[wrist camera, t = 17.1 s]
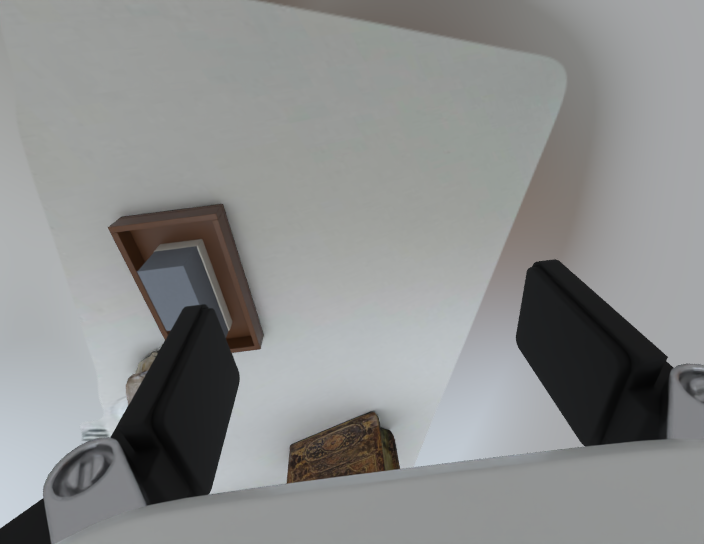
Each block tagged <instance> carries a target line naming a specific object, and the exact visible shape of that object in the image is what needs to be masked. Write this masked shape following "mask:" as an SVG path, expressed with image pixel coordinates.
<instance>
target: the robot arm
mask: <svg viewBox="0 0 704 544" xmlns="http://www.w3.org/2000/svg"><path fill="white" fill-rule="evenodd" d="M516 342H517V345H518V348H519V349H520V351H521V352H522V354H523V355H524V357H525V358H526V360H527V361H528V363H529V364H530V366H531V367H532V369H533V371H534V372H535V374H536V375H537V376H538V378H539V380H540V381H541V382H542V384H543V386H544V387H545V389H546V390H547V392H548V393H549V395H550V396H551V398H552V399H553V401H554V402H555V404H556V405H557V407H558V408H559V410H560V411H561V413H562V415H563V416H564V418H565V419H566V420H567V422H568V424H569V425H570V427H571V428H572V430H573V431H574V433H575V434H576V436H577V437H578V439H579V440H580V442H581V443H582V444H583V445H584V446H586V447H577V448H569V449H560V450H552V451H544V452H535V453H527V454H519V455H510V456H502V457H493V458H485V459H477V460H469V461H461V462H453V463H445V464H437V465H429V466H421V467H413V468H405V469H397V470H389V471H381V472H373V473H365V474H357V475H349V476H342V477H334V478H327V479H319V480H311V481H304V482H296V483H289V484H281V485H273V486H266V487H258V488H250V489H244V490H237V491H230V492H223V493H217V494H210V495H208V494H209V493H210V491H211V489H212V485H213V481H214V478H215V474H216V470H217V466H218V462H219V459H220V455H221V451H222V447H223V443H224V439H225V436H226V432H227V428H228V424H229V420H230V417H231V413H232V409H233V405H234V401H235V397H236V394H237V390H238V386H239V380H240V377H239V371H238V368H237V366H236V363H235V361H234V358H233V356H232V353H231V350H230V348H229V345H228V343H227V340H226V338H225V335H224V332H223V330H222V327H221V325H220V322H219V320H218V317H217V315H216V312H215V310H214V309H213V308H208V306H207V305H205V304H201V305H193V306H186V307H184V308H183V309H182V311H181V313H180V315H179V317H178V318H177V320H176V322H175V324H174V326H173V327H172V329H171V331H170V333H169V334H168V336H167V338H166V340H165V342H164V343H163V345H162V347H161V349H160V351H159V352H158V354H157V356H156V358H155V359H154V361H153V363H152V364H151V366H150V368H149V370H148V372H147V373H146V375H145V377H144V379H143V381H142V382H141V384H140V386H139V388H138V389H137V391H136V393H135V395H134V397H133V398H132V400H131V402H130V404H129V405H128V407H127V409H126V411H125V413H124V414H123V416H122V418H121V420H120V422H119V423H118V425H117V427H116V429H115V430H114V432H113V434H112V436H111V438H109V437H107V438H97V439H94V440H91V441H88V442H86V443H84V444H82V445H80V446H78V447H77V448H75V449H74V450H72V451H71V452H70V453H68V454H67V455H66V456H65V457H64V458H63V459H62V460H60V461H59V463H57V464H56V466H55V467H54V468H53V470H52V471H51V472H50V474H49V475H48V477H47V479H46V482H45V484H44V489H43V499H41V500H40V501H39V502H37V503H36V504H34V505H33V506H31V507H30V508H29V509H27V510H26V511H24V512H23V513H22V514H20V515H19V516H18V517H16V518H15V519H13V520H12V521H10V522H9V523H8V524H6V525H5V526H3V527H2V528H0V544H704V365H700V364H683V365H678V366H676V367H675V368H673V367H672V366H671V365H670V364H669V363H667V362H666V360H667V358H668V357H667V356H666V355H665V354H664V353H663V352H662V351H661V350H659V349H658V348H657V347H656V346H655V345H654V344H653V343H652V342H650V341H649V340H648V339H647V338H646V337H645V336H643V335H642V334H641V333H640V332H639V331H638V330H637V329H636V328H635V327H633V326H632V325H631V324H630V323H629V322H628V321H627V320H625V319H624V318H623V317H622V316H621V315H620V314H619V313H617V312H616V311H615V310H614V309H613V308H612V307H611V306H610V305H609V304H607V303H606V302H605V301H604V300H603V299H602V298H601V297H599V296H598V295H597V294H596V293H595V292H594V291H593V290H592V289H590V288H589V287H588V286H587V285H586V284H585V283H584V282H582V281H581V280H580V279H579V278H578V277H577V276H576V275H575V274H573V273H572V272H571V271H570V270H569V269H568V268H567V267H565V266H564V265H563V264H562V263H561V262H560V261H558V260H546V261H539V262H535V263H534V264H533V266H532V267H530V268H529V269H528V270H527V275H526V280H525V286H524V292H523V298H522V303H521V309H520V316H519V321H518V327H517V333H516Z"/></svg>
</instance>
